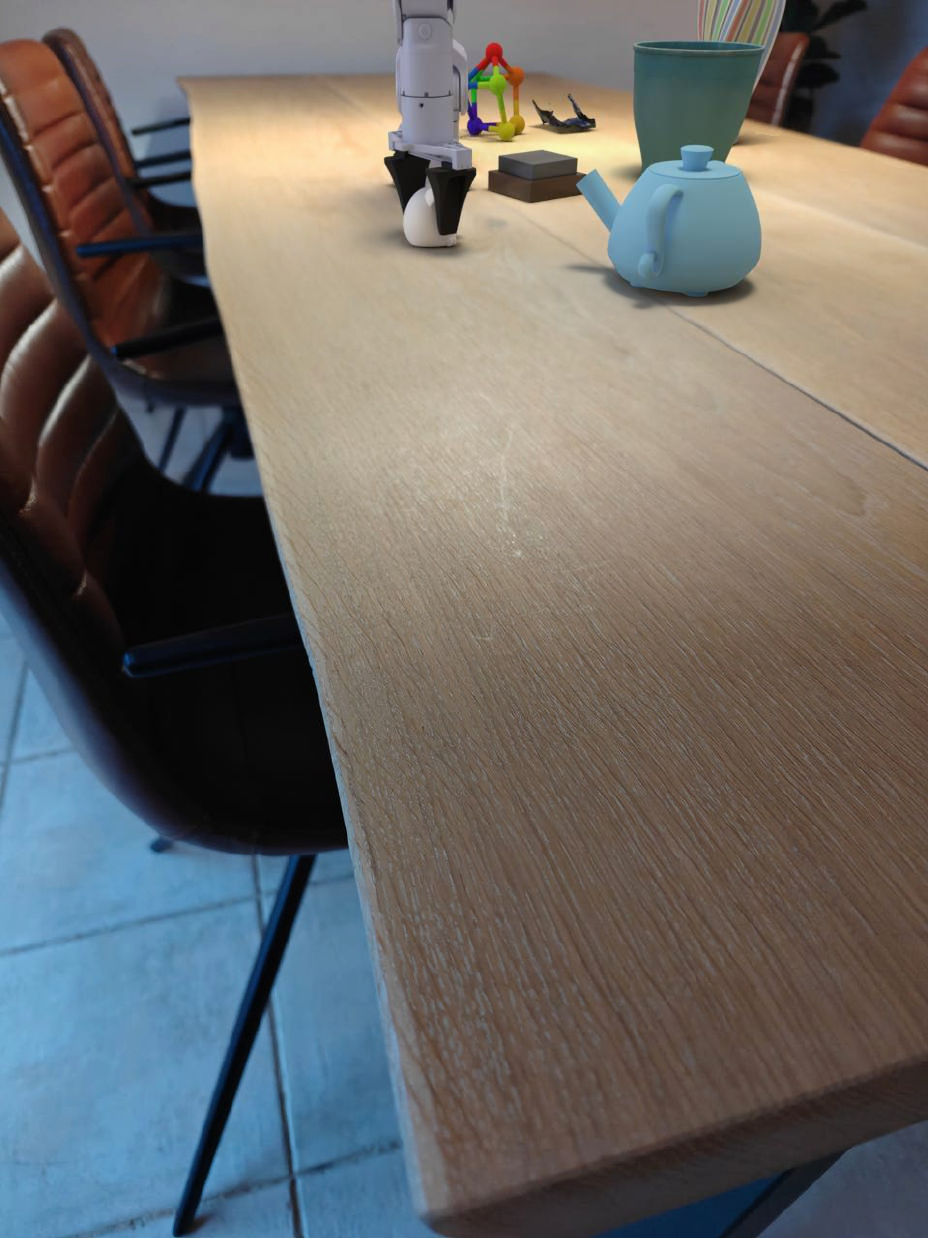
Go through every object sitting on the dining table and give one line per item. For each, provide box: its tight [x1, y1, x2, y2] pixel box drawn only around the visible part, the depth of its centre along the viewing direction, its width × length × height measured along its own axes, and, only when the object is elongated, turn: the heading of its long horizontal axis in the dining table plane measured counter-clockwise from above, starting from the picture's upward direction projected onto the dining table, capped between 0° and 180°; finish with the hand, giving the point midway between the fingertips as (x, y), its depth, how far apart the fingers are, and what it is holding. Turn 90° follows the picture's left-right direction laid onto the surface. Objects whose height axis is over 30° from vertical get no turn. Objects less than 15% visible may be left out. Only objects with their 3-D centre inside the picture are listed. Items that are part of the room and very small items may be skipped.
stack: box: [487, 149, 588, 203], centre depth 125 cm, size 10×10×4 cm
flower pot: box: [632, 39, 765, 175], centre depth 128 cm, size 18×18×17 cm
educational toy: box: [466, 41, 526, 142], centre depth 158 cm, size 16×13×15 cm
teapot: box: [576, 145, 762, 298], centre depth 89 cm, size 20×20×13 cm
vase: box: [696, 0, 787, 144], centre depth 147 cm, size 14×14×30 cm
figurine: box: [402, 181, 458, 248], centre depth 103 cm, size 8×6×7 cm
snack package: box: [531, 93, 597, 134], centre depth 168 cm, size 12×6×12 cm
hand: (430, 227), depth 104 cm, fingers closed on figurine, 7 cm apart
